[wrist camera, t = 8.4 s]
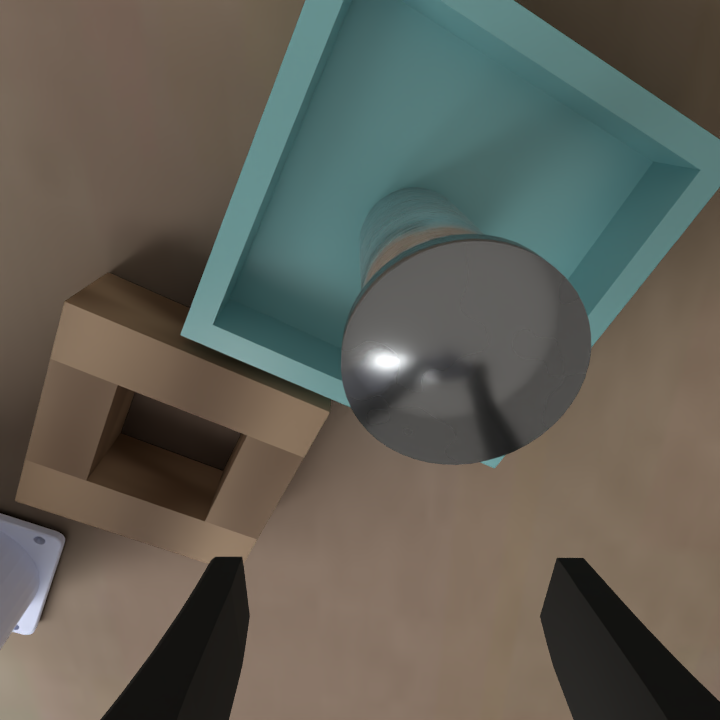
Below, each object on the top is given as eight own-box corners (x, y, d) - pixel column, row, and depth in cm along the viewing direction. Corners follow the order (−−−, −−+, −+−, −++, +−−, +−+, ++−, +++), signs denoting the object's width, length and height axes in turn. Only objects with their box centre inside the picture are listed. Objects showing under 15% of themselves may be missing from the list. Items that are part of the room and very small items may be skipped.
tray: (205, 301, 18) (179, 335, 16) (349, -69, 13) (347, -112, 11) (476, 422, 21) (494, 468, 18) (679, 148, 16) (744, 156, 13)
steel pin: (325, 268, 17) (299, 408, 9) (389, 147, 15) (425, 189, 7) (432, 323, 18) (493, 494, 10) (503, 216, 16) (645, 319, 8)
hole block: (57, 451, 21) (14, 500, 19) (108, 272, 18) (64, 301, 15) (251, 520, 23) (238, 573, 21) (333, 370, 20) (329, 412, 17)
